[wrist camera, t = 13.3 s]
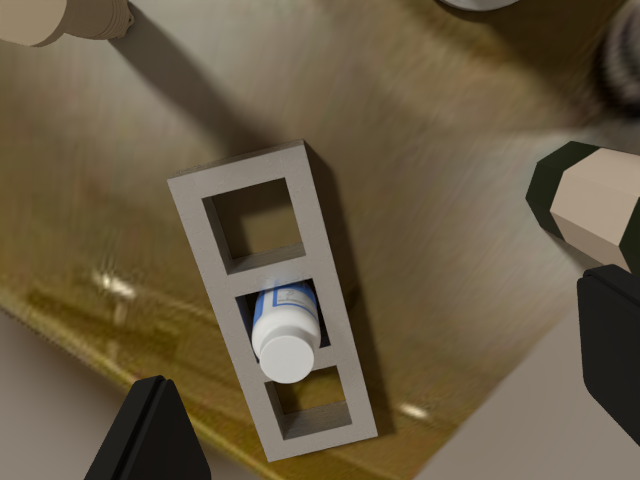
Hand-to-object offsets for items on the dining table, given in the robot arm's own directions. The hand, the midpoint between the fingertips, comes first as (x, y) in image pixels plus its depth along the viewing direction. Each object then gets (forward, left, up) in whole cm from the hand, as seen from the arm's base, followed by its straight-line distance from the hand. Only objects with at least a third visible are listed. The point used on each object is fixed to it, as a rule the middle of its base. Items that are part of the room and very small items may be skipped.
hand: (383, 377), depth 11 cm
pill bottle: (+6, +12, -31) cm, 33 cm away
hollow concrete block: (+6, +12, -30) cm, 33 cm away
